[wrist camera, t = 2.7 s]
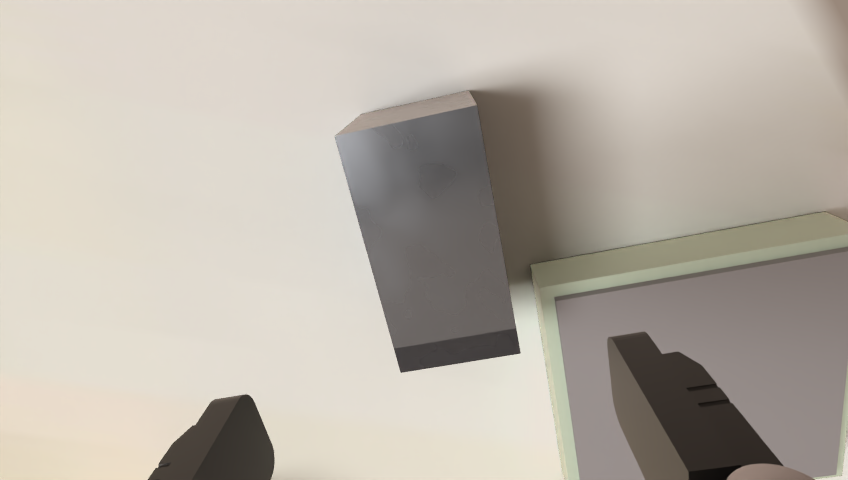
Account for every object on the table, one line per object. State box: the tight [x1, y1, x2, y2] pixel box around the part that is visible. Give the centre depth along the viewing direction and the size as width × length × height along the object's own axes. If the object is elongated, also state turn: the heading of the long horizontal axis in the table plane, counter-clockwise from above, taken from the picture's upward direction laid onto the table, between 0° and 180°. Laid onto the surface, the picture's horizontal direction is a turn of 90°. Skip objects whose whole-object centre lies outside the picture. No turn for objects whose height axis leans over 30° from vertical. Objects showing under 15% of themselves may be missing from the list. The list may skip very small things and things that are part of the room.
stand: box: [530, 212, 848, 480], centre depth 25 cm, size 14×14×3 cm
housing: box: [335, 90, 520, 373], centre depth 21 cm, size 10×5×6 cm, turn 12°
